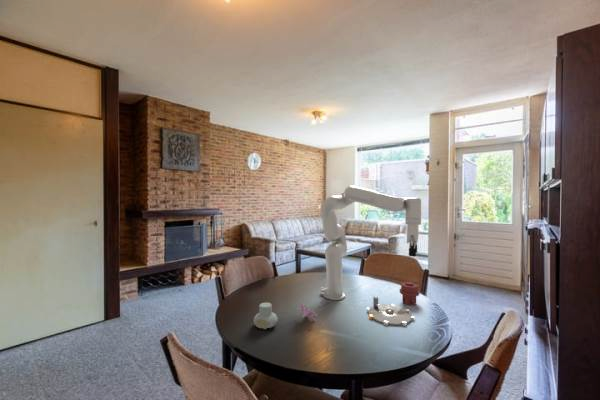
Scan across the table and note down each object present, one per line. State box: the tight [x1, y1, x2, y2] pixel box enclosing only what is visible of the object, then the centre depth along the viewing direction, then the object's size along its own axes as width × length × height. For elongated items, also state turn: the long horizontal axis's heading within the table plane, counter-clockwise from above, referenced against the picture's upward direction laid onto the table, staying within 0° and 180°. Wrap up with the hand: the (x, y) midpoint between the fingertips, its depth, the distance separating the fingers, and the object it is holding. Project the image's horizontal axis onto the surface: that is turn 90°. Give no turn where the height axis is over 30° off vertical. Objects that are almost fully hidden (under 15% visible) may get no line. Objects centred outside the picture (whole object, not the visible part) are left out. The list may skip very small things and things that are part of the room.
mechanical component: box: [399, 281, 420, 306], centre depth 151 cm, size 12×10×10 cm
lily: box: [296, 300, 319, 323], centre depth 132 cm, size 12×12×10 cm
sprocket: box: [366, 296, 415, 327], centre depth 135 cm, size 22×22×6 cm
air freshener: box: [253, 302, 278, 330], centre depth 127 cm, size 11×8×10 cm
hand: (413, 254), depth 143 cm, fingers open, 9 cm apart
